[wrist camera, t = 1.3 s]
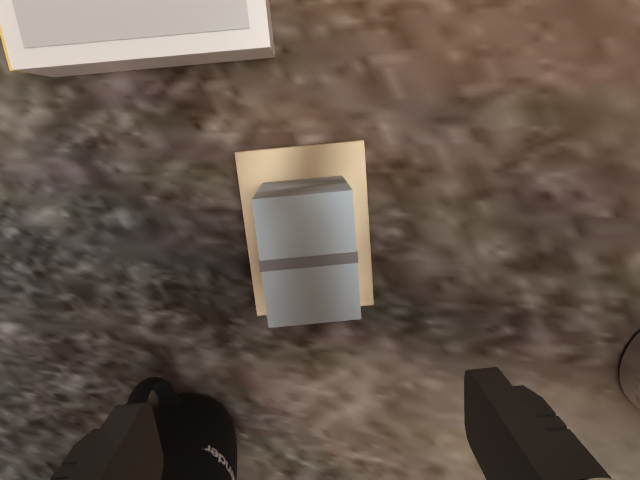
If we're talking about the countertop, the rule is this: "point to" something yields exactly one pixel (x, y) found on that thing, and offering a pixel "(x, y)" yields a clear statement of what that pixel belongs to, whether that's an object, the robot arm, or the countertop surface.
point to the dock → (131, 34)
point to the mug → (191, 433)
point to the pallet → (307, 167)
